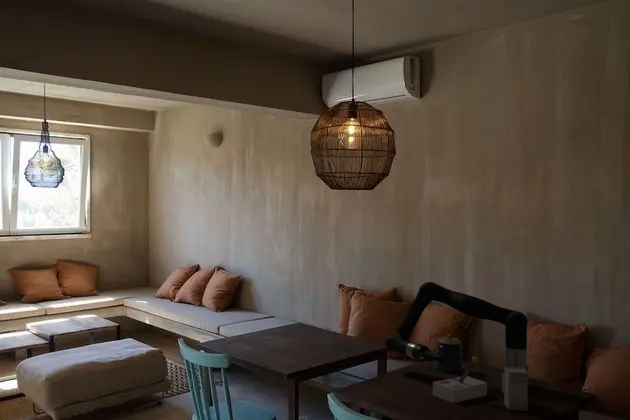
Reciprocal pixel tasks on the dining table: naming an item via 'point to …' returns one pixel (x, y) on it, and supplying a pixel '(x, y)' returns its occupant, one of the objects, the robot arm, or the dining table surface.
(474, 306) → the robot arm
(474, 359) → the breaker lever
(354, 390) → the dining table surface
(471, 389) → the box
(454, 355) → the canister
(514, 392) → the circuit breaker
